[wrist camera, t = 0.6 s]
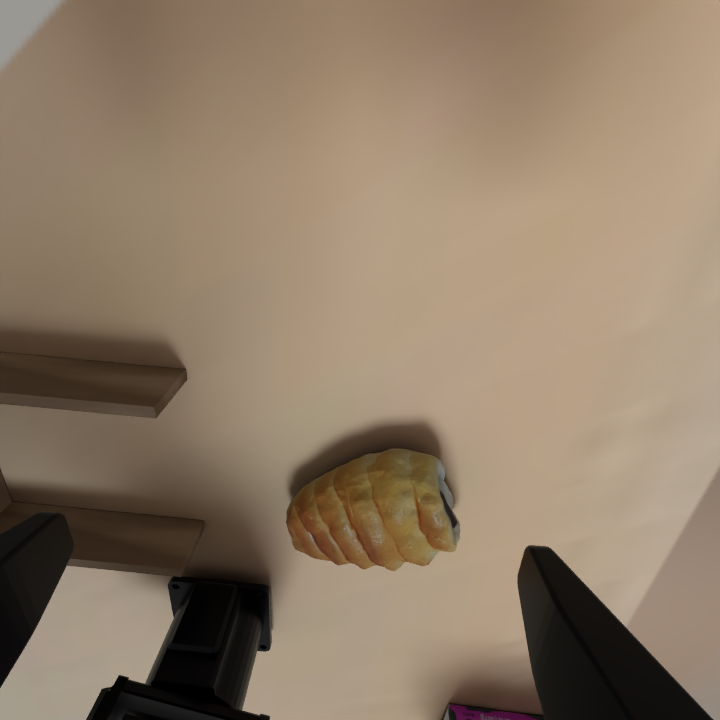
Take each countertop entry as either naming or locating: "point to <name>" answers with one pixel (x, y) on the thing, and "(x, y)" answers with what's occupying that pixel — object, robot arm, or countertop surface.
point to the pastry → (376, 512)
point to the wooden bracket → (110, 396)
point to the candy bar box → (483, 714)
